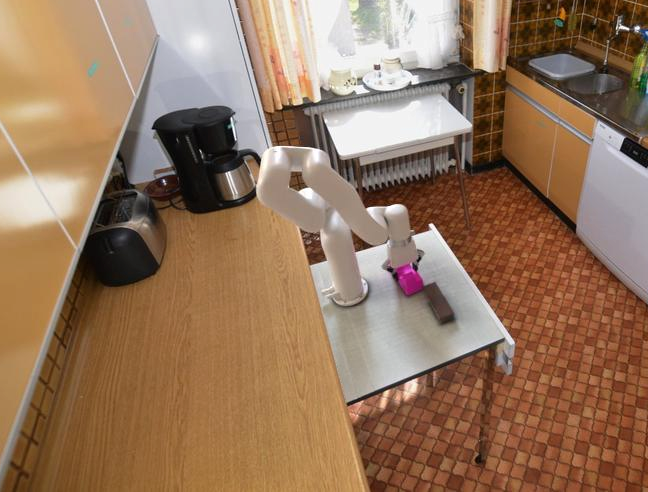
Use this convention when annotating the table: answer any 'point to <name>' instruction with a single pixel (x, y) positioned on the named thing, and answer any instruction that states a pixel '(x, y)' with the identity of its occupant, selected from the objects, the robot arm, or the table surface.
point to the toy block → (409, 279)
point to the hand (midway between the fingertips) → (405, 274)
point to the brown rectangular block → (438, 302)
